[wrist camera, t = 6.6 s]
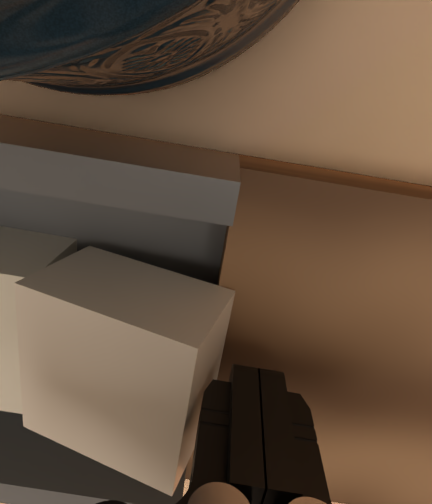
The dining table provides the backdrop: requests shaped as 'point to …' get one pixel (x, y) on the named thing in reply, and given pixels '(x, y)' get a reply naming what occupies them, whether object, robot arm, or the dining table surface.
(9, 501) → the tray
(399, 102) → the dining table surface
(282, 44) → the dining table surface
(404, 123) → the dining table surface
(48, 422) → the tile
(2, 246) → the tile
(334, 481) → the board
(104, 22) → the canister
